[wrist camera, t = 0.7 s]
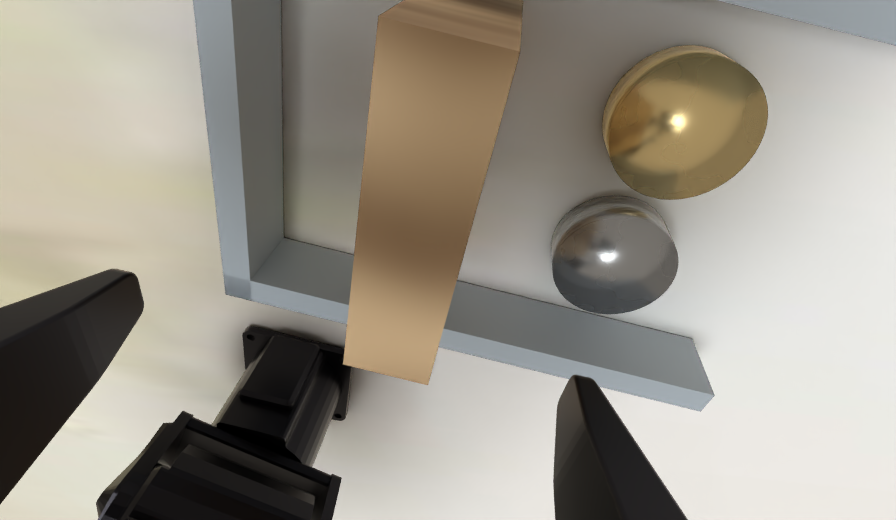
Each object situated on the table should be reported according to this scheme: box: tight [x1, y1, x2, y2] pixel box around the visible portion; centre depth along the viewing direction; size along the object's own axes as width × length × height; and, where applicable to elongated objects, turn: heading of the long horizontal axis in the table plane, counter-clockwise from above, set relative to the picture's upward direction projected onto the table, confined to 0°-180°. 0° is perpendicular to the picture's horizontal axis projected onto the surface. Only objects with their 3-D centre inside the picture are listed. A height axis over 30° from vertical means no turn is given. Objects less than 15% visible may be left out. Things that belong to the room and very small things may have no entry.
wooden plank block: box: [343, 0, 523, 385], centre depth 16 cm, size 11×3×8 cm, turn 169°
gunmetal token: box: [551, 196, 678, 314], centre depth 20 cm, size 5×5×2 cm
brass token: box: [602, 45, 768, 200], centre depth 17 cm, size 5×5×2 cm
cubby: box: [193, 0, 896, 412], centre depth 18 cm, size 16×22×4 cm
